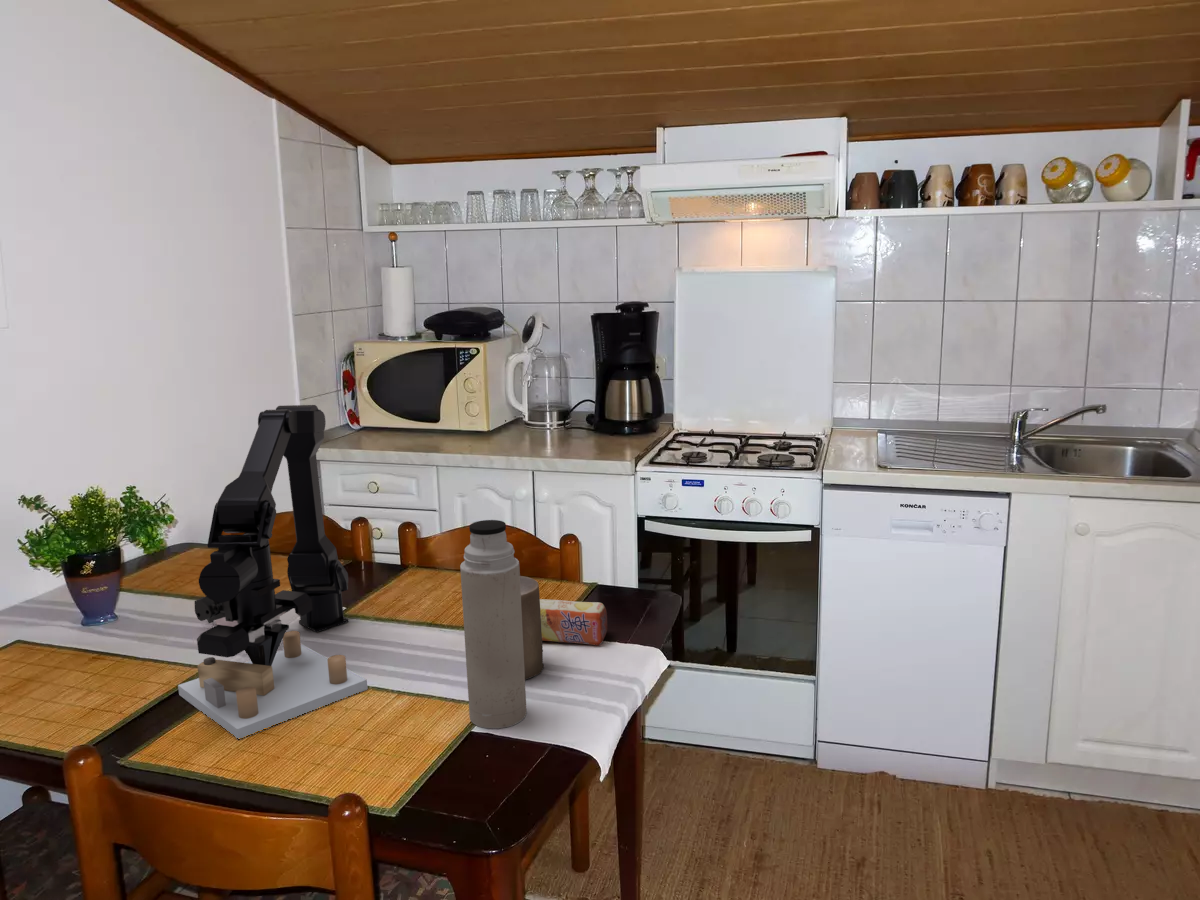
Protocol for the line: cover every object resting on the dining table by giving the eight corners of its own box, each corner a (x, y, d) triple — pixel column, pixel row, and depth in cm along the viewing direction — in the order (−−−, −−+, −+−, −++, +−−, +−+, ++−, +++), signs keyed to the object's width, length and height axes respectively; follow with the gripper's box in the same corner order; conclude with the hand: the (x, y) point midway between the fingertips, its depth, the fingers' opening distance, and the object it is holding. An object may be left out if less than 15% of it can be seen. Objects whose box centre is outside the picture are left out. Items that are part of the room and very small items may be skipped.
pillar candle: (552, 658, 150) (547, 569, 147) (531, 685, 141) (525, 590, 138) (495, 654, 152) (489, 566, 149) (471, 680, 143) (464, 586, 140)
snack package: (609, 633, 160) (608, 596, 158) (601, 649, 153) (600, 610, 152) (489, 626, 164) (487, 590, 163) (477, 642, 158) (475, 604, 156)
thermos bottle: (484, 698, 137) (474, 513, 131) (535, 705, 134) (526, 517, 129) (459, 724, 130) (446, 529, 124) (512, 732, 127) (502, 533, 121)
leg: (200, 687, 139) (197, 662, 139) (211, 680, 142) (208, 655, 141) (264, 695, 136) (261, 669, 135) (274, 688, 138) (271, 662, 138)
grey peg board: (302, 652, 155) (299, 623, 154) (367, 689, 141) (364, 657, 140) (179, 695, 141) (175, 663, 140) (238, 740, 127) (234, 705, 126)
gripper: (250, 552, 149) (261, 644, 152) (159, 593, 132) (174, 696, 135) (309, 558, 145) (319, 652, 148) (223, 601, 128) (236, 707, 131)
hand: (263, 675), depth 141 cm, fingers closed
